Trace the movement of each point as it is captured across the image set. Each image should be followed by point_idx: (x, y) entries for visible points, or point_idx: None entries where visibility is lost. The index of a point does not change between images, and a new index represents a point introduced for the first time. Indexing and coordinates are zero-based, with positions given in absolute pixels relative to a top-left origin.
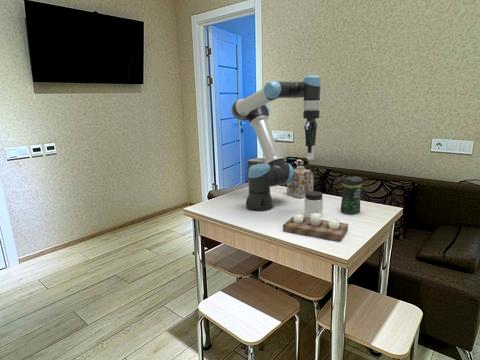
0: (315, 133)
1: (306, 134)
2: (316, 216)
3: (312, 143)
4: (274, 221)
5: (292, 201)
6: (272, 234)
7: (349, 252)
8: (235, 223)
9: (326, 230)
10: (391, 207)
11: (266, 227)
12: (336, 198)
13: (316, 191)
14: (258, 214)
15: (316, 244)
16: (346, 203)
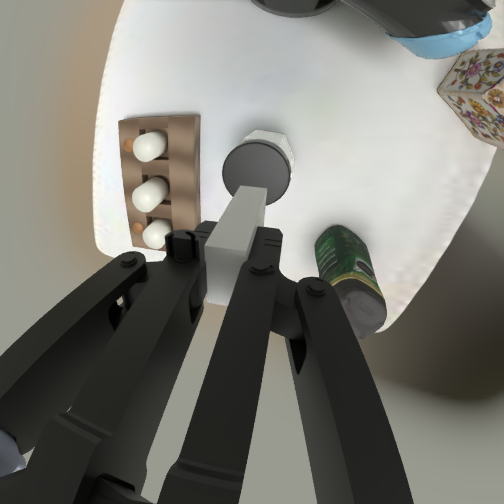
0: (312, 458)
1: (24, 356)
2: (134, 203)
3: (194, 323)
4: (177, 68)
5: (399, 68)
6: (105, 107)
7: (114, 253)
8: (129, 3)
9: (136, 219)
10: (387, 323)
11: (132, 73)
12: (455, 208)
13: (285, 180)
14: (215, 5)
15: (109, 202)
16: (321, 255)
